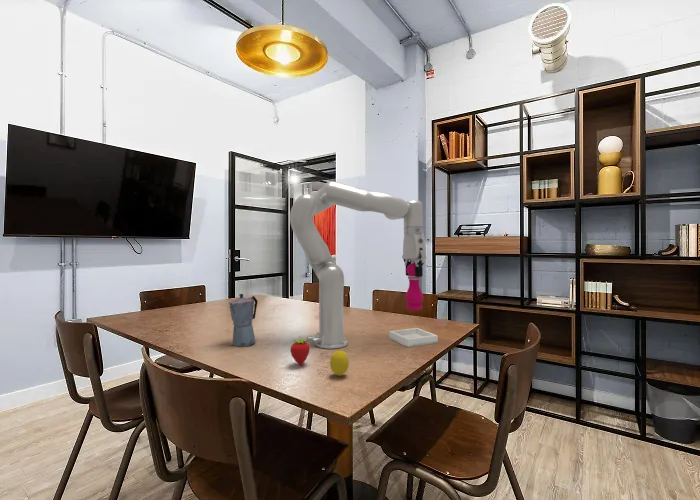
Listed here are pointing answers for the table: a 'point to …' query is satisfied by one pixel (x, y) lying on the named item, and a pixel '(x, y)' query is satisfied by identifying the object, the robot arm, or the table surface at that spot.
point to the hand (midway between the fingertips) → (413, 275)
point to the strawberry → (300, 351)
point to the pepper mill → (413, 289)
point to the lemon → (339, 362)
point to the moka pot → (243, 320)
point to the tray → (413, 337)
